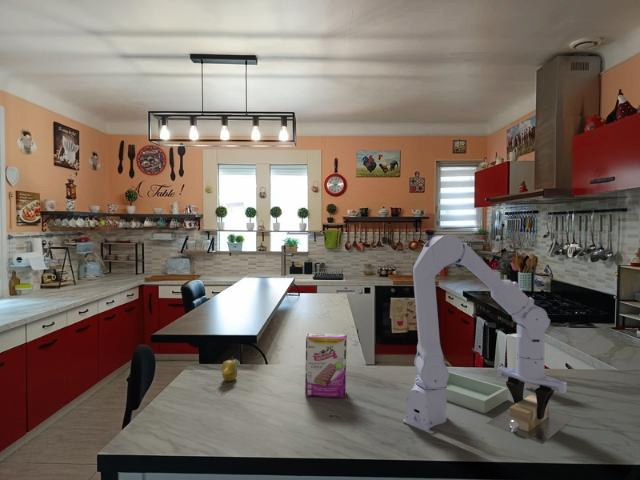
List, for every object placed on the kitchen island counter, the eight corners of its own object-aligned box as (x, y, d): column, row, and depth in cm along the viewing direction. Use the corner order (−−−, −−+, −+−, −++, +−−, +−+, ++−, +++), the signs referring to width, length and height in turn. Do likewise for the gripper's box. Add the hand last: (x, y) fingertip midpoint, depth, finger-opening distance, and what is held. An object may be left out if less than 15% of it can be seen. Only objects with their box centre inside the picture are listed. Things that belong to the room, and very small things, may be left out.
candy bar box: (304, 397, 107) (305, 336, 107) (307, 390, 112) (307, 332, 112) (346, 399, 106) (346, 338, 106) (346, 391, 111) (346, 333, 111)
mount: (542, 449, 81) (542, 431, 81) (485, 427, 90) (485, 412, 90) (572, 422, 93) (572, 407, 93) (519, 406, 102) (519, 392, 102)
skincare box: (543, 391, 112) (543, 339, 112) (523, 392, 111) (523, 339, 111) (523, 381, 120) (524, 332, 120) (505, 381, 120) (505, 332, 120)
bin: (484, 417, 96) (484, 400, 96) (419, 394, 110) (419, 379, 110) (507, 403, 104) (507, 388, 104) (444, 383, 118) (444, 370, 118)
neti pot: (216, 389, 112) (216, 366, 112) (227, 372, 127) (228, 351, 127) (232, 389, 112) (232, 366, 112) (241, 372, 127) (241, 351, 127)
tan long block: (528, 432, 86) (528, 413, 86) (509, 425, 89) (509, 407, 89) (549, 416, 94) (549, 399, 94) (531, 410, 97) (531, 394, 97)
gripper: (571, 359, 89) (571, 420, 89) (506, 346, 100) (506, 400, 100) (560, 366, 84) (559, 430, 84) (493, 351, 95) (492, 408, 95)
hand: (529, 414), depth 92 cm, fingers closed on tan long block, 4 cm apart
